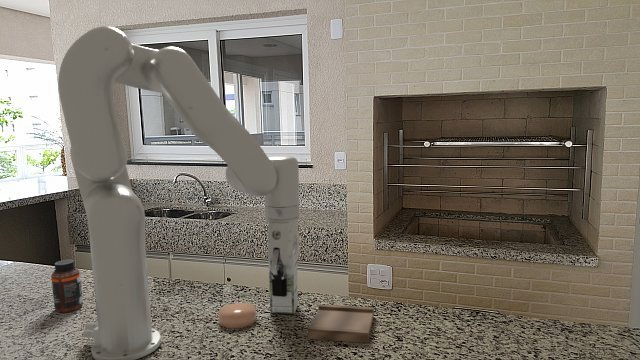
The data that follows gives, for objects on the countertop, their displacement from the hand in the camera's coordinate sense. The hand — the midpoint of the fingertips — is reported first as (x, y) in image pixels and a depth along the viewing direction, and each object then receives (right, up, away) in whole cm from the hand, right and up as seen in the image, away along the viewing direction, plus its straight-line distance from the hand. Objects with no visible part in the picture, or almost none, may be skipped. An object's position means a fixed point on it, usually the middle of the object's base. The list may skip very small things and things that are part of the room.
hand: (283, 289), depth 109 cm
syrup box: (0, -5, +1) cm, 5 cm away
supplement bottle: (-51, -6, +4) cm, 51 cm away
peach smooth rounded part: (-10, -6, -4) cm, 12 cm away
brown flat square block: (+13, -6, -9) cm, 17 cm away
